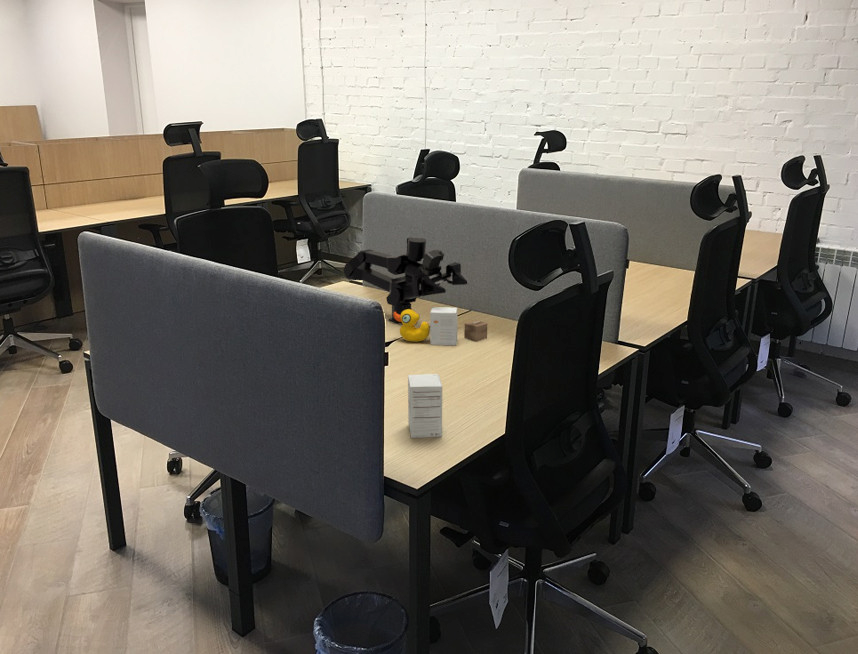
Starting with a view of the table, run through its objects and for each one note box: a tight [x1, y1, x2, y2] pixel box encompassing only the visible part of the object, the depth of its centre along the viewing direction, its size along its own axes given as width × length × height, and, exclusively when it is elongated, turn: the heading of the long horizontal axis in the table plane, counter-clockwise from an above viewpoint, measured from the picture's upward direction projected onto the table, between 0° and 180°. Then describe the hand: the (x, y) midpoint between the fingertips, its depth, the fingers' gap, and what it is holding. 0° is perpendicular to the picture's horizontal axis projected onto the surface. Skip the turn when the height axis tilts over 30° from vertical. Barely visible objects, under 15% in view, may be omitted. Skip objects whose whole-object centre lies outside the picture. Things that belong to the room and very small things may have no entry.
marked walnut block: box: [463, 319, 488, 343], centre depth 232 cm, size 5×5×5 cm
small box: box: [429, 306, 458, 346], centre depth 228 cm, size 8×6×10 cm
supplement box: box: [407, 373, 443, 439], centre depth 170 cm, size 7×7×13 cm
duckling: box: [393, 309, 430, 343], centre depth 229 cm, size 11×5×10 cm, turn 75°
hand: (456, 286), depth 227 cm, fingers open, 9 cm apart
